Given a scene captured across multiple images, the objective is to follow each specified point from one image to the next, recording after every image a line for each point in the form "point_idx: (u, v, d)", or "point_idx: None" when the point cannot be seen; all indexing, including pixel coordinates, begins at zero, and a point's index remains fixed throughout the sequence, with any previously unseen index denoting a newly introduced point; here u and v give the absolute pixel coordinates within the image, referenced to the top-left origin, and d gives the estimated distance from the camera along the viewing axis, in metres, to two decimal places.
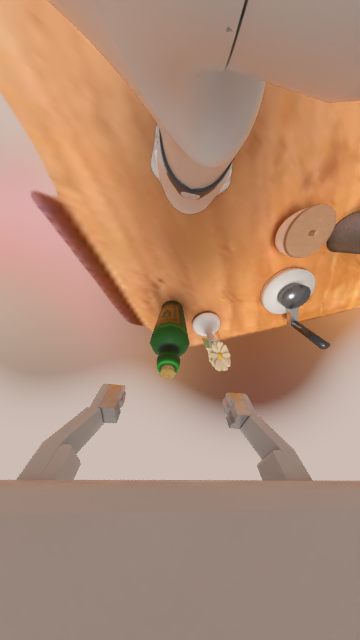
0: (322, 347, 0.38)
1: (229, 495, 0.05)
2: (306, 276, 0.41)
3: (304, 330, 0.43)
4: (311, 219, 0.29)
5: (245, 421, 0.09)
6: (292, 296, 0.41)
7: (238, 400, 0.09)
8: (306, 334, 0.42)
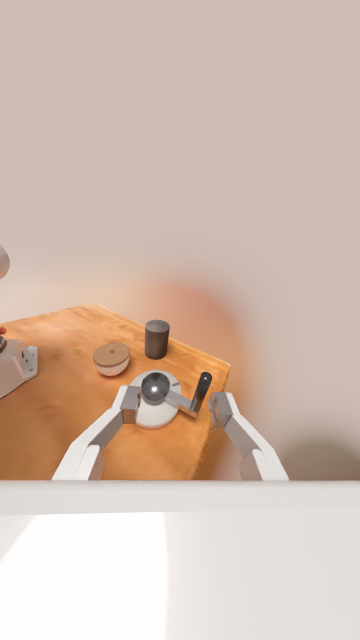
0: (206, 379, 0.27)
1: (229, 495, 0.05)
2: (153, 372, 0.43)
3: (194, 394, 0.31)
4: (105, 348, 0.43)
5: (228, 421, 0.09)
6: (149, 385, 0.35)
7: (222, 399, 0.09)
8: (197, 393, 0.29)
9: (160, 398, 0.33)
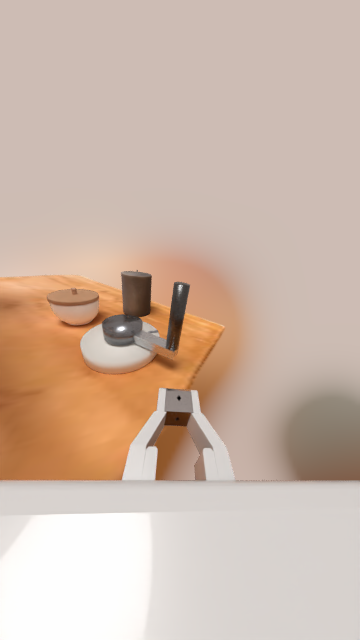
0: (181, 284, 0.18)
1: (229, 495, 0.05)
2: None
3: (169, 322, 0.22)
4: (67, 291, 0.35)
5: (189, 419, 0.09)
6: (114, 323, 0.27)
7: (185, 396, 0.09)
8: (171, 316, 0.21)
9: (125, 334, 0.25)
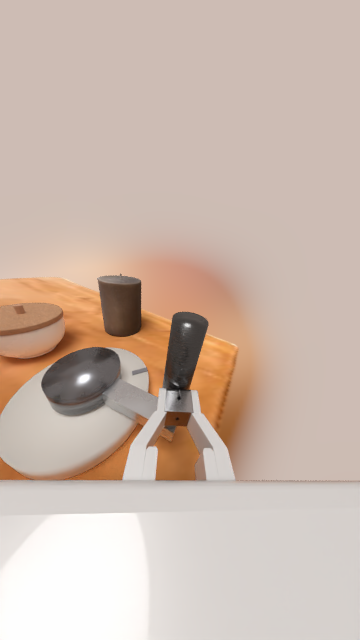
0: (189, 324, 0.08)
1: (229, 495, 0.05)
2: None
3: None
4: (11, 308, 0.23)
5: (189, 419, 0.09)
6: (68, 371, 0.16)
7: (185, 396, 0.09)
8: (166, 380, 0.10)
9: (85, 398, 0.14)
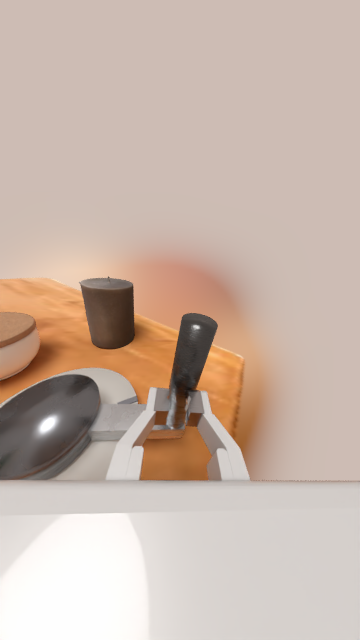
0: (204, 327, 0.08)
1: (229, 495, 0.05)
2: (82, 374, 0.19)
3: (170, 390, 0.11)
4: None
5: (200, 419, 0.09)
6: (19, 427, 0.11)
7: (195, 397, 0.09)
8: (178, 385, 0.10)
9: (67, 448, 0.10)
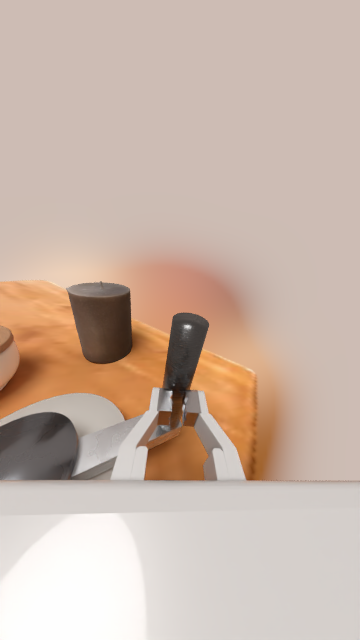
0: (198, 326, 0.08)
1: (229, 495, 0.05)
2: (64, 403, 0.15)
3: None
4: None
5: (197, 419, 0.09)
6: None
7: (192, 397, 0.09)
8: (175, 388, 0.10)
9: None
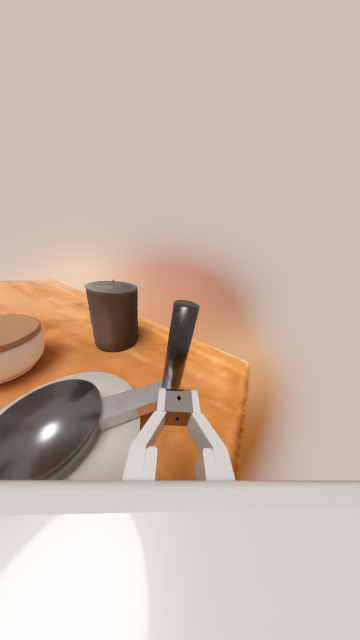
0: (191, 307, 0.11)
1: (229, 495, 0.05)
2: (85, 379, 0.19)
3: (168, 363, 0.14)
4: None
5: (189, 419, 0.09)
6: (23, 440, 0.10)
7: (185, 396, 0.09)
8: (175, 356, 0.13)
9: (86, 438, 0.11)
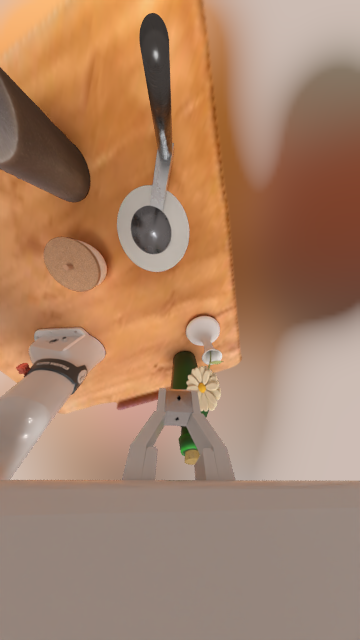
0: (163, 44, 0.11)
1: (229, 495, 0.05)
2: (124, 217, 0.27)
3: (163, 134, 0.17)
4: (61, 273, 0.27)
5: (189, 419, 0.09)
6: (156, 240, 0.26)
7: (185, 396, 0.09)
8: (167, 120, 0.16)
9: (167, 218, 0.25)
